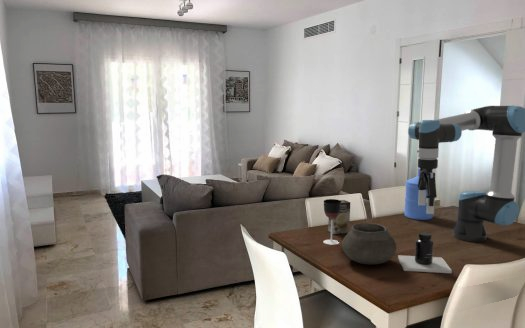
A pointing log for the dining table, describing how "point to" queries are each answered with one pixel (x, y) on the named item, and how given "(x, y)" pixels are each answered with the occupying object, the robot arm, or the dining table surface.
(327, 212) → the wineglass
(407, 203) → the water jug
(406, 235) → the dining table surface
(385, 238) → the clay pot
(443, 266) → the stone board
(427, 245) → the supplement bottle
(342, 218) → the coffee box
